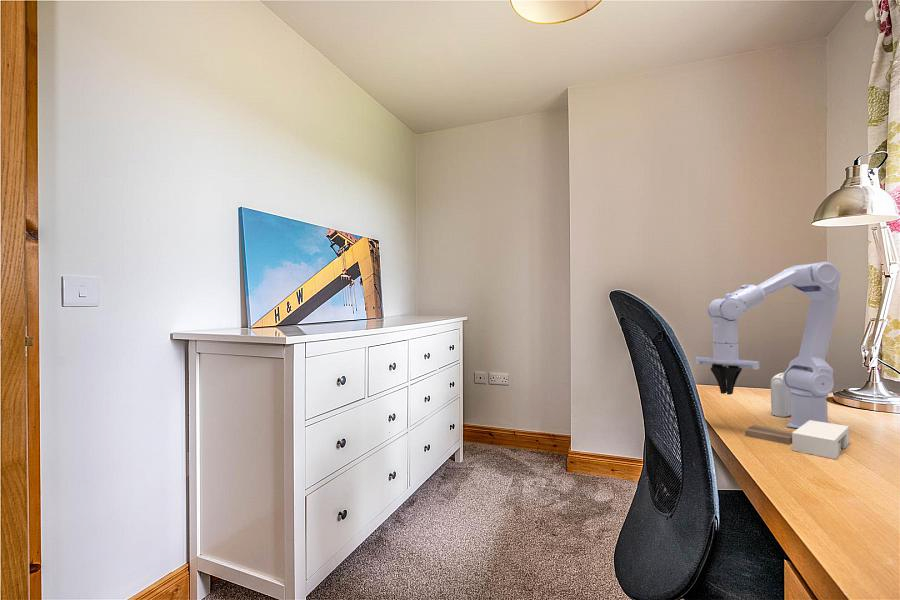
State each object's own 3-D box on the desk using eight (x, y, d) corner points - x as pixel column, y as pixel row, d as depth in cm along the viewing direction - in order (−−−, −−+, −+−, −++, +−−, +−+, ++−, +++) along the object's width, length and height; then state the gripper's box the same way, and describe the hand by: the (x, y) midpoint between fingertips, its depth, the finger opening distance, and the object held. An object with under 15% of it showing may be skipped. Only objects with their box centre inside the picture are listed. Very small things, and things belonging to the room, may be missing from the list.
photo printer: (782, 410, 130) (781, 370, 130) (799, 413, 126) (798, 372, 126) (769, 415, 124) (767, 373, 124) (786, 418, 120) (785, 375, 121)
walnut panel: (754, 432, 110) (754, 424, 110) (797, 440, 103) (797, 432, 103) (745, 437, 105) (744, 429, 106) (789, 446, 98) (789, 438, 98)
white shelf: (810, 436, 104) (809, 420, 104) (849, 443, 99) (849, 426, 99) (792, 450, 94) (791, 432, 94) (835, 459, 89) (834, 440, 89)
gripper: (690, 342, 115) (691, 391, 115) (752, 345, 104) (753, 400, 104) (700, 340, 120) (702, 388, 119) (761, 343, 108) (763, 396, 108)
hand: (726, 393), depth 112 cm, fingers closed
